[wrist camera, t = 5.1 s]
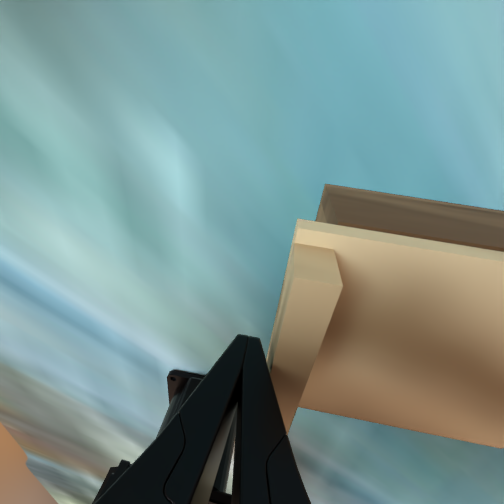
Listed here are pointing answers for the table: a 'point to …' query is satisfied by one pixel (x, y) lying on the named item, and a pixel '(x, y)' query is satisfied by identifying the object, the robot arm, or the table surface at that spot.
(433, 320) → the lid
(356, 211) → the walnut box
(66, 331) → the table surface
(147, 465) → the robot arm
